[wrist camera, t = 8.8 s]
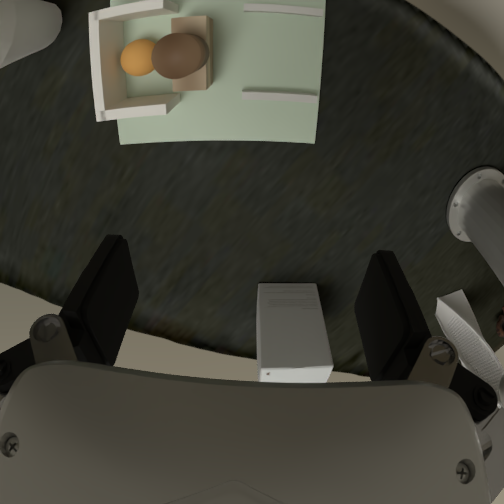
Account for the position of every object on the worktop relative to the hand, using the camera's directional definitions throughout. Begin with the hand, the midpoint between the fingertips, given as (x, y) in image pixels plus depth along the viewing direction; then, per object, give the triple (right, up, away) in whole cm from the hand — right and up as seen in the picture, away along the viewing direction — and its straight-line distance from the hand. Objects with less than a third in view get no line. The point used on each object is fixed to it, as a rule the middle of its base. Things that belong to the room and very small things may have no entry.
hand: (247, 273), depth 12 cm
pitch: (-4, +21, +16) cm, 27 cm away
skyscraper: (+37, -9, +39) cm, 55 cm away
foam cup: (-25, +27, +11) cm, 39 cm away
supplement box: (+5, -7, +38) cm, 39 cm away
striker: (-5, +21, +15) cm, 26 cm away
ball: (-11, +20, +13) cm, 26 cm away
